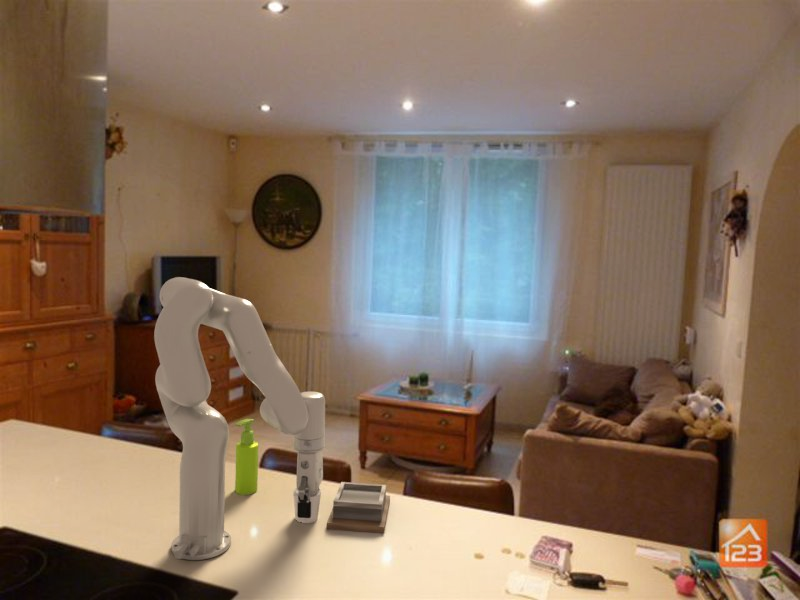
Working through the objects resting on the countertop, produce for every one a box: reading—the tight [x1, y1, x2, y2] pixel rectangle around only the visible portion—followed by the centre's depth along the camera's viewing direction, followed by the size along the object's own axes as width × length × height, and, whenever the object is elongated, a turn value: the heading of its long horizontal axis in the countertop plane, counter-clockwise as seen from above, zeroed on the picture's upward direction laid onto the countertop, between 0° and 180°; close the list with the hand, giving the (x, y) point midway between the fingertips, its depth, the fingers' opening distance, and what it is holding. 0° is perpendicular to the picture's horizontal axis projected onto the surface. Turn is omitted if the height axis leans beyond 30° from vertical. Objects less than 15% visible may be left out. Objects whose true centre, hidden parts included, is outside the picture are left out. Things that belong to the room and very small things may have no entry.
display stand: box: [326, 481, 391, 534], centre depth 150 cm, size 18×14×6 cm
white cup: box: [293, 487, 322, 524], centre depth 147 cm, size 7×7×7 cm
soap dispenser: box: [234, 418, 259, 496], centre depth 161 cm, size 6×7×20 cm
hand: (308, 508), depth 148 cm, fingers open, 9 cm apart
